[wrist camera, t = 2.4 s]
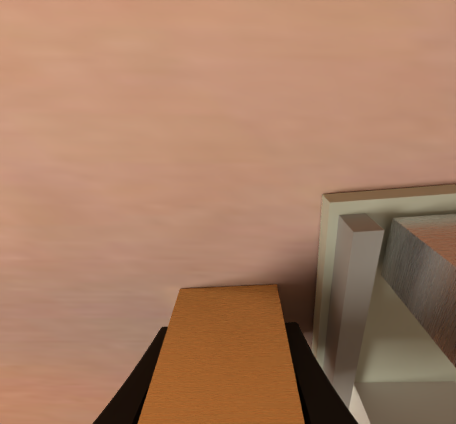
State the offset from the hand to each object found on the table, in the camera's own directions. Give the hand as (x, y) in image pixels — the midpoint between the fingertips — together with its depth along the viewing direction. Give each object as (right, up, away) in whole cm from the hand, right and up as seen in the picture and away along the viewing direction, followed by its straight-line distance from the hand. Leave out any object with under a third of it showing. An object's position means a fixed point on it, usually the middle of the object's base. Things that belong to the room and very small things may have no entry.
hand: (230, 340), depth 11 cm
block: (0, +1, +1) cm, 1 cm away
